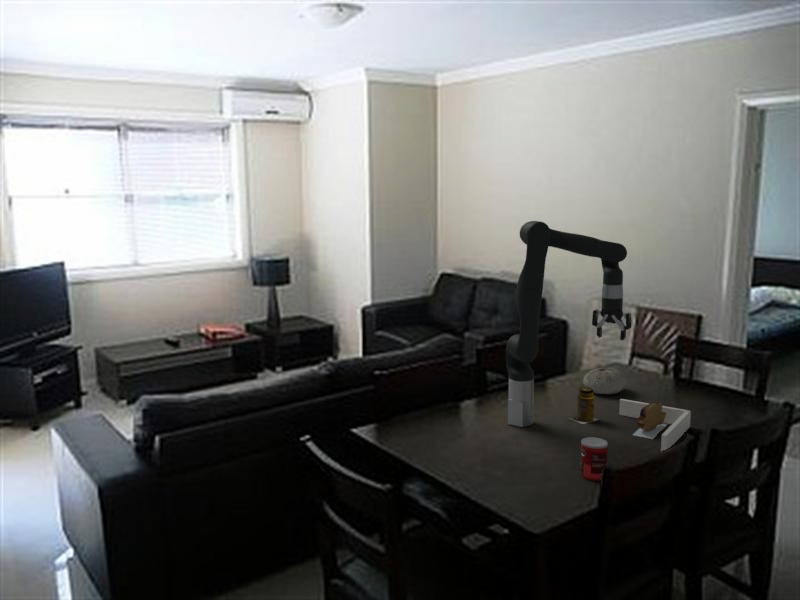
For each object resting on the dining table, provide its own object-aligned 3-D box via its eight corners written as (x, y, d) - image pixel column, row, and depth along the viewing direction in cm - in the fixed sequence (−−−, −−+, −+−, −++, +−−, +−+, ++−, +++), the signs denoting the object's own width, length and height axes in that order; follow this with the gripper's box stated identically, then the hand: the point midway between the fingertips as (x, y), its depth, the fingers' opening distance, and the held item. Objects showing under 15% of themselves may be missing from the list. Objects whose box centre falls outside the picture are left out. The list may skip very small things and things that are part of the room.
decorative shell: (575, 388, 300) (575, 365, 298) (610, 383, 305) (611, 361, 303) (598, 400, 283) (599, 376, 281) (635, 395, 288) (636, 372, 286)
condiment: (598, 420, 260) (599, 389, 258) (583, 424, 255) (583, 393, 253) (583, 414, 266) (584, 384, 264) (568, 419, 261) (568, 388, 259)
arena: (665, 453, 227) (666, 435, 226) (590, 437, 242) (591, 421, 241) (690, 426, 251) (690, 410, 250) (620, 413, 266) (621, 398, 265)
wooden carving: (654, 422, 255) (655, 396, 254) (666, 425, 252) (667, 399, 250) (631, 433, 244) (632, 406, 243) (643, 437, 241) (644, 409, 239)
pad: (652, 439, 239) (652, 438, 239) (632, 435, 243) (632, 434, 243) (667, 425, 253) (667, 424, 253) (647, 421, 257) (647, 420, 257)
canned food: (586, 468, 217) (587, 435, 215) (611, 474, 212) (612, 440, 210) (575, 476, 211) (576, 442, 209) (600, 483, 206) (601, 448, 204)
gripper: (590, 296, 258) (589, 338, 261) (628, 299, 250) (626, 342, 252) (597, 293, 264) (596, 334, 267) (634, 296, 255) (633, 338, 258)
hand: (611, 338), depth 260 cm, fingers open, 8 cm apart
